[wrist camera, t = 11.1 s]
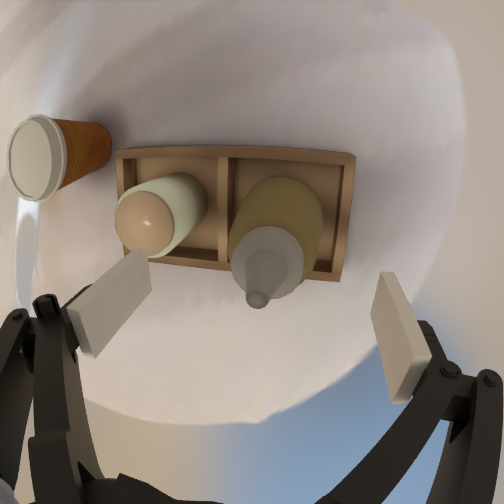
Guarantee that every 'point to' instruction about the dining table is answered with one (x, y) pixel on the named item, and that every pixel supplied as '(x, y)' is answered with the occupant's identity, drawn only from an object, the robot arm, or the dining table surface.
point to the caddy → (238, 186)
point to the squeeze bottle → (275, 239)
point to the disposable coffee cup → (54, 155)
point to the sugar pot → (160, 213)
